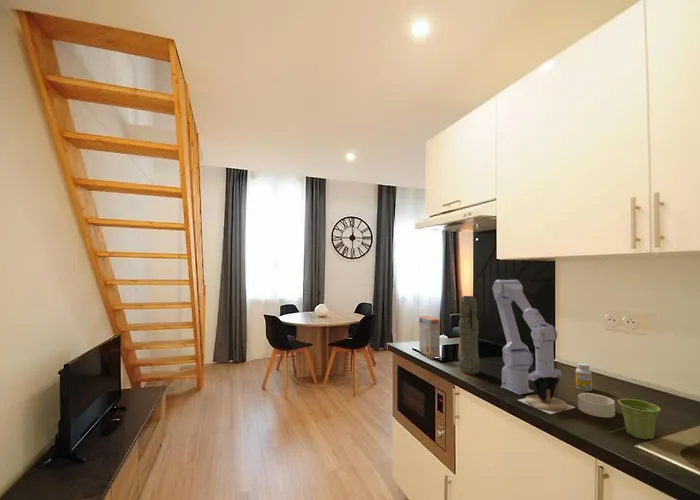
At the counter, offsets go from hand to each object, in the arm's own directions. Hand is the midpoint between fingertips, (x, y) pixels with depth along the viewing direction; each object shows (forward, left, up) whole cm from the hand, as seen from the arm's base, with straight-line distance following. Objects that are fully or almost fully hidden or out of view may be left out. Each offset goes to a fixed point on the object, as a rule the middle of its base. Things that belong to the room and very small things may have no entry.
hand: (545, 398), depth 122 cm
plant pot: (+26, +5, -2) cm, 27 cm away
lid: (0, 0, -2) cm, 2 cm away
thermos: (-41, +3, -2) cm, 41 cm away
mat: (0, 0, -2) cm, 2 cm away
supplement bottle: (-5, +29, -2) cm, 30 cm away
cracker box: (-71, +3, -2) cm, 71 cm away
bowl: (+11, +10, -2) cm, 15 cm away
